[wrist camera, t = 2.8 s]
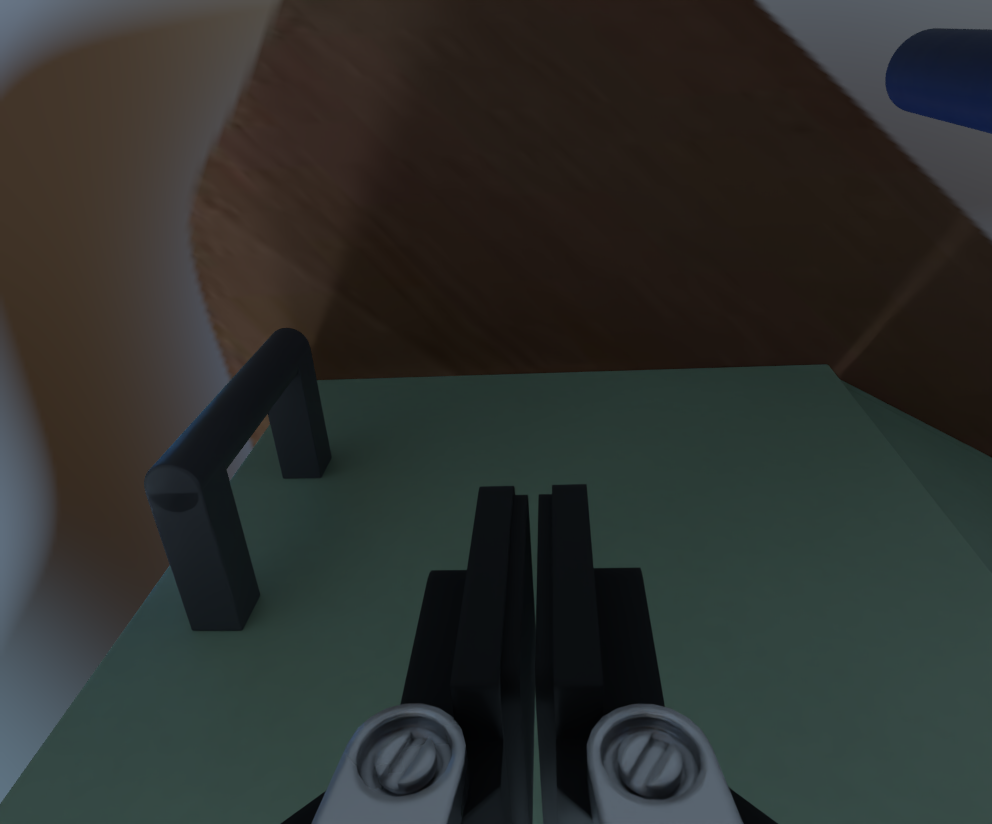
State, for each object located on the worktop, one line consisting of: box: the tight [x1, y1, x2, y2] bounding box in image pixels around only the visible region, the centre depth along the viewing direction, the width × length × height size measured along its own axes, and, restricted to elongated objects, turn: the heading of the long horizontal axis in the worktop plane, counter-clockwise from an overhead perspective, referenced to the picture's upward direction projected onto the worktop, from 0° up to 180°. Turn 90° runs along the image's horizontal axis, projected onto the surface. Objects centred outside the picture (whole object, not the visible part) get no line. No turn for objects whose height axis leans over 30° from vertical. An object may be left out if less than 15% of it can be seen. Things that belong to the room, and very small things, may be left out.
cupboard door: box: [0, 328, 992, 824], centre depth 25 cm, size 7×26×26 cm, turn 94°
